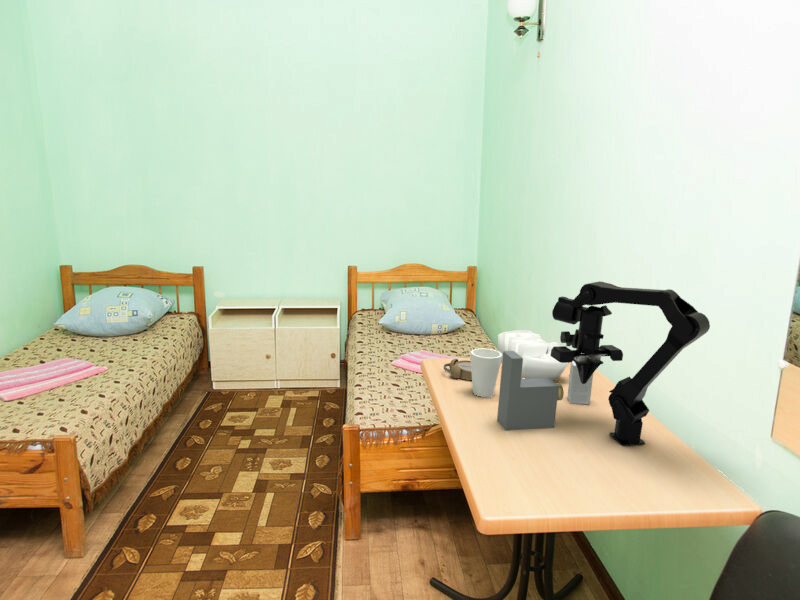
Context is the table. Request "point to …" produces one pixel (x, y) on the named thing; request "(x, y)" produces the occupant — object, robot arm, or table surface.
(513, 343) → the wavy white extrusion
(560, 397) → the shaft
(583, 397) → the skincare box
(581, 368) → the robot arm
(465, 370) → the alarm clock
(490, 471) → the table surface
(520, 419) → the block
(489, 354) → the foam cup
